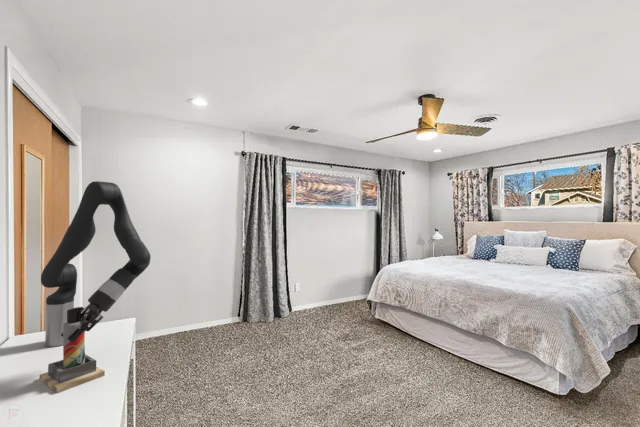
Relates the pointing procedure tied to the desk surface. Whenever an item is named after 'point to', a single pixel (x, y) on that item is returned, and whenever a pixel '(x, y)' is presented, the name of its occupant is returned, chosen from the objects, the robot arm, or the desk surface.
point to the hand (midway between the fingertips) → (66, 338)
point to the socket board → (70, 374)
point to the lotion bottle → (76, 349)
